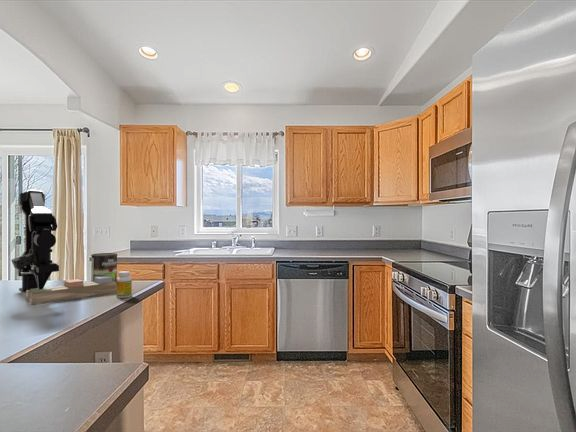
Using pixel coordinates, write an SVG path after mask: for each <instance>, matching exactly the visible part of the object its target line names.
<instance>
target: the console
mask: <svg viewBox="0 0 576 432" xmlns="http://www.w3.org/2000/svg"><path fill="white" fill-rule="evenodd" d="M116 286H117V285H116V282H114V281H112V282H109V283H102V284H98V283H95V282H91V281H87V282H83V286H80V287H73V288H67V287H65V286H64V285H56V286H49V287H48V288H50V289H51V291H43V292H36V293H34V292H32V291H31V290H26V291H25V302H26V301H27V302H26V303H28V304H30V305H31V306H32V305H40V304H46V303H52V302H57V301H66V300H71V299H77V298H83V297H84V298H85V297H90V295H91V296H98V295H102V294H110V293H115V292H116ZM97 294H98V295H97Z"/></svg>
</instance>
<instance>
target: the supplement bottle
mask: <svg viewBox="0 0 576 432" xmlns="http://www.w3.org/2000/svg"><path fill="white" fill-rule="evenodd" d="M130 275H131V272H130V271H129V270H128V271H127V270H122V271H118V276H117V285H116V294H115V296H116V298H118V299H127V298H129V297H132V290H133V289H132V283H133V282H132V281H133V280H132V277H131V276H130Z"/></svg>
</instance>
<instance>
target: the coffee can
mask: <svg viewBox="0 0 576 432" xmlns="http://www.w3.org/2000/svg"><path fill="white" fill-rule="evenodd" d="M90 255H91V260H90V261H91V264H90V265H91V268H90V269H91V274H90V275H91V276H90V282H94V277H99V276H110V277H112V281H114V282H116V286H117V278H118V275H117V273H118V272H117V271H118V270H117V269H118V253H115V252H99V253H91V254H90Z"/></svg>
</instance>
